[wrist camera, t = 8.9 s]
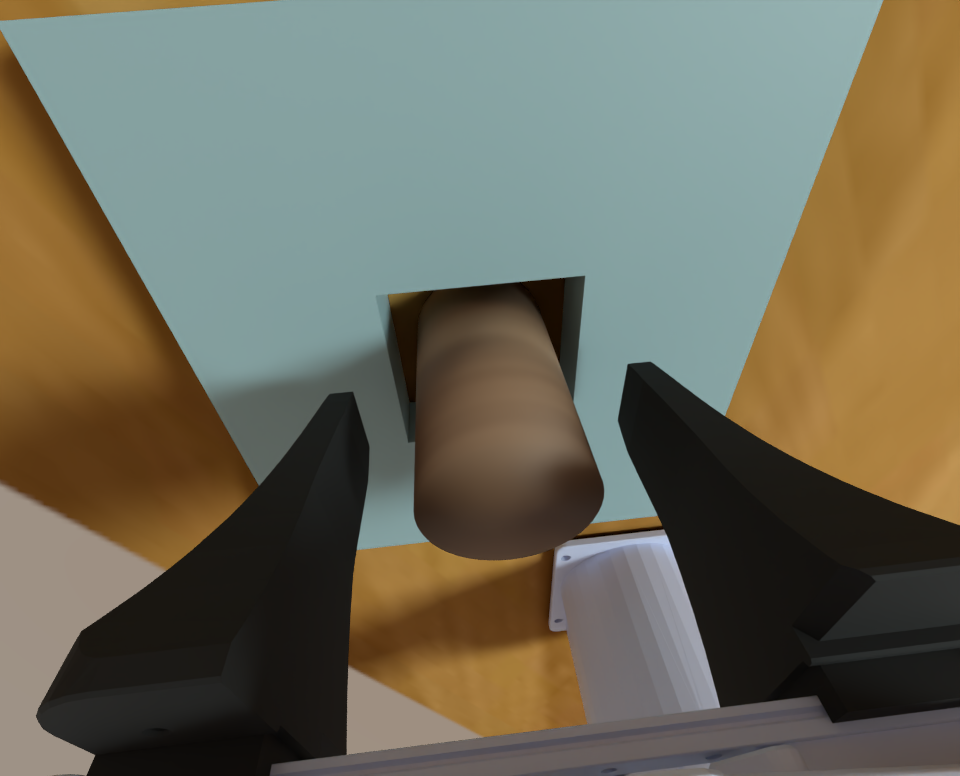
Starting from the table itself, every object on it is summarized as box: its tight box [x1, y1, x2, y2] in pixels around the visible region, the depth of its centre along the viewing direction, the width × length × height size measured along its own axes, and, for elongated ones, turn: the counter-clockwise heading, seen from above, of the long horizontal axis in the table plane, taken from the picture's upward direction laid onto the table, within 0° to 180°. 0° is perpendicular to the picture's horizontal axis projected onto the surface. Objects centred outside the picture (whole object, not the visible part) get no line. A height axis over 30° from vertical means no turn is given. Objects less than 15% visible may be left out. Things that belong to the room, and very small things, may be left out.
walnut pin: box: [413, 282, 604, 560], centre depth 13 cm, size 4×4×7 cm
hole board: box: [0, 0, 883, 550], centre depth 14 cm, size 17×16×2 cm
